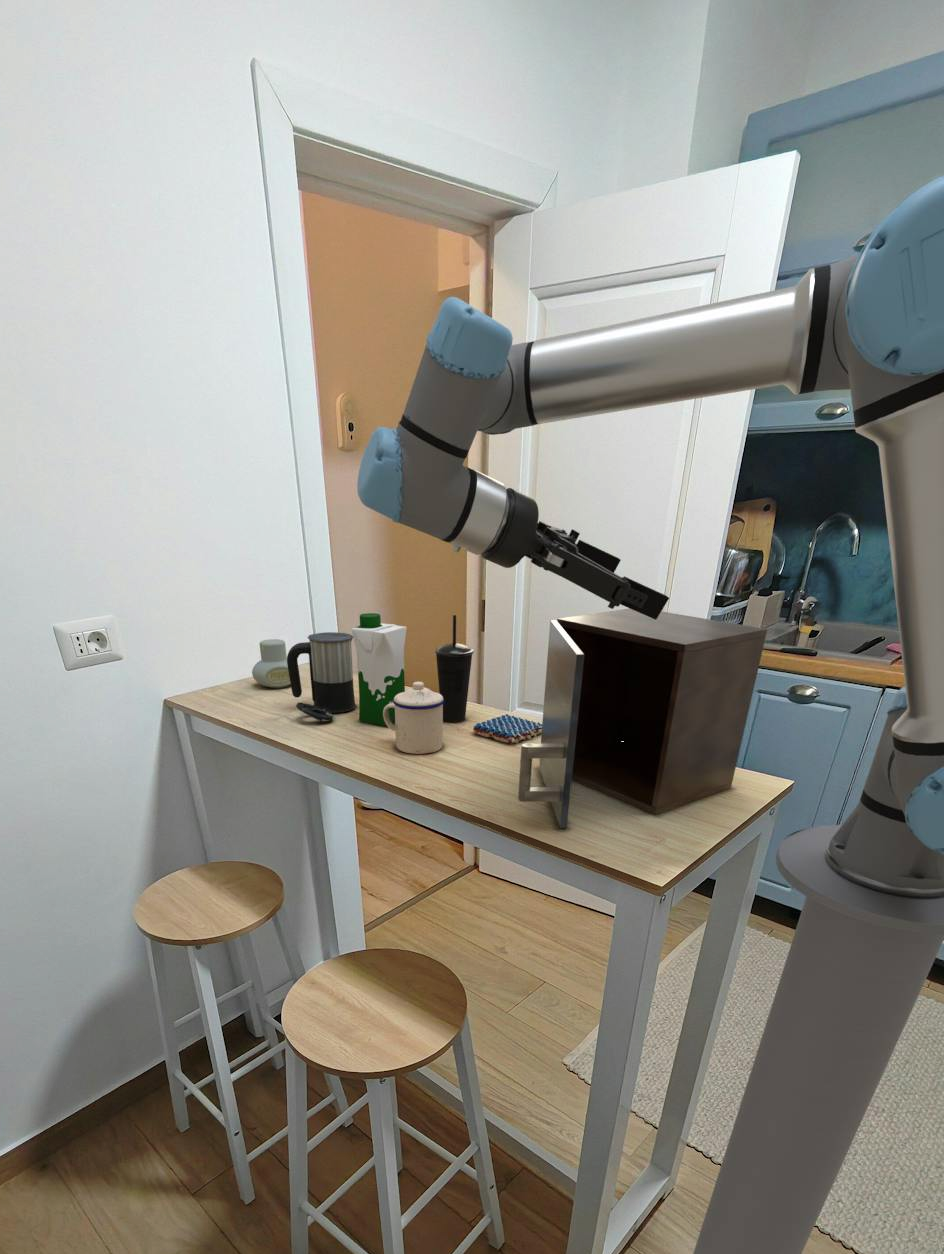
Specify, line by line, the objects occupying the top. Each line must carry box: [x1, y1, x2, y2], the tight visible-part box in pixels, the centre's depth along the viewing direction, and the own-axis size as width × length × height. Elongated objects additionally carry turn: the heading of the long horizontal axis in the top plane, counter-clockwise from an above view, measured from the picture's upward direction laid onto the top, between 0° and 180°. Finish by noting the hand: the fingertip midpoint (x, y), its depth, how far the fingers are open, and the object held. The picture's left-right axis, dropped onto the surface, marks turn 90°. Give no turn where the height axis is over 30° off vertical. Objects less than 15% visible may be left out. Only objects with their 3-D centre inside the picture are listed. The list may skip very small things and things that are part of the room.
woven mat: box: [472, 713, 542, 744], centre depth 137 cm, size 10×11×2 cm
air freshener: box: [251, 638, 291, 689], centre depth 167 cm, size 11×8×10 cm
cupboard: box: [556, 608, 768, 816], centre depth 111 cm, size 18×24×24 cm
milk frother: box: [286, 631, 357, 723], centre depth 146 cm, size 14×16×15 cm
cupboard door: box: [517, 619, 585, 829], centre depth 104 cm, size 7×24×24 cm, turn 0°
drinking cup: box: [434, 614, 475, 724], centre depth 140 cm, size 8×8×20 cm
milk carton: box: [351, 612, 407, 728], centre depth 140 cm, size 9×9×20 cm
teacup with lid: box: [383, 681, 444, 755], centre depth 128 cm, size 12×9×12 cm
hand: (636, 587), depth 89 cm, fingers open, 13 cm apart
